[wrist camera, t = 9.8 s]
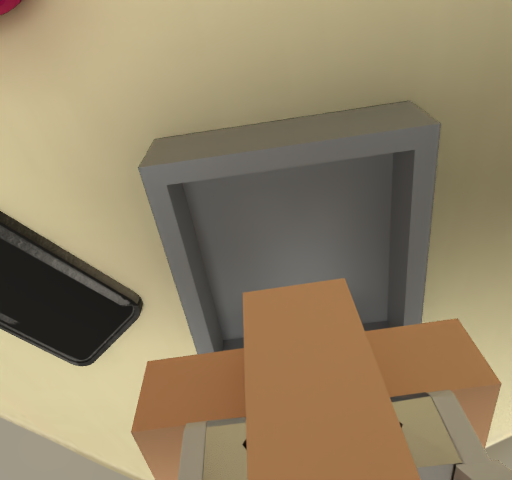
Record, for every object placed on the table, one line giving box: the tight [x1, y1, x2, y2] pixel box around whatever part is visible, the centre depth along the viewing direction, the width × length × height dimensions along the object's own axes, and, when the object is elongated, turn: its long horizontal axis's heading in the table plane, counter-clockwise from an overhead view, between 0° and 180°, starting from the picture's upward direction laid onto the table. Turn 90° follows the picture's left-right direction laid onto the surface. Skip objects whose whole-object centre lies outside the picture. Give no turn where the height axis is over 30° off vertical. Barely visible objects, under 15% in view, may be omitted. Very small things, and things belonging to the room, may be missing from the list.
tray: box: [138, 101, 441, 354], centre depth 23 cm, size 13×15×4 cm
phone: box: [0, 211, 143, 366], centre depth 26 cm, size 8×1×15 cm
